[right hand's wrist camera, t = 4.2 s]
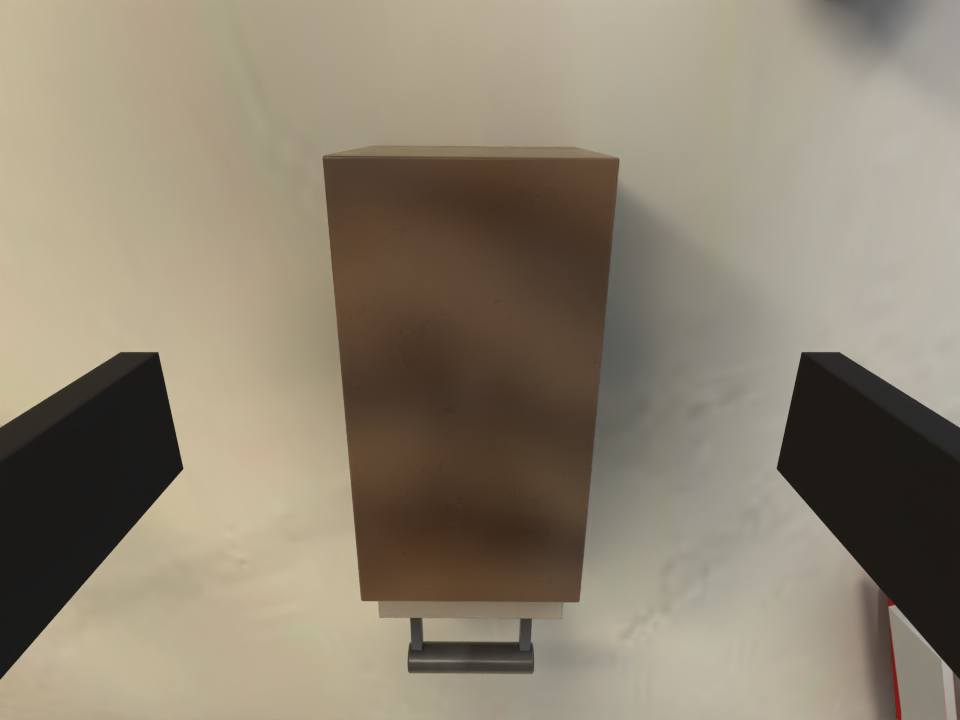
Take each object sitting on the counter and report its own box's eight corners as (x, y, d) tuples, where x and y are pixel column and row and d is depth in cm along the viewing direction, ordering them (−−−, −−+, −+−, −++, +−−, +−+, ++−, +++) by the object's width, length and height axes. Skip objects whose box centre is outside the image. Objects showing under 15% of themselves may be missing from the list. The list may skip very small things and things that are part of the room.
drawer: (540, 588, 39) (555, 701, 32) (404, 587, 39) (385, 700, 32) (562, 215, 30) (590, 246, 23) (384, 214, 30) (351, 244, 23)
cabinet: (554, 481, 37) (579, 603, 28) (391, 480, 37) (360, 601, 28) (575, 147, 30) (620, 157, 20) (372, 145, 30) (321, 155, 20)
